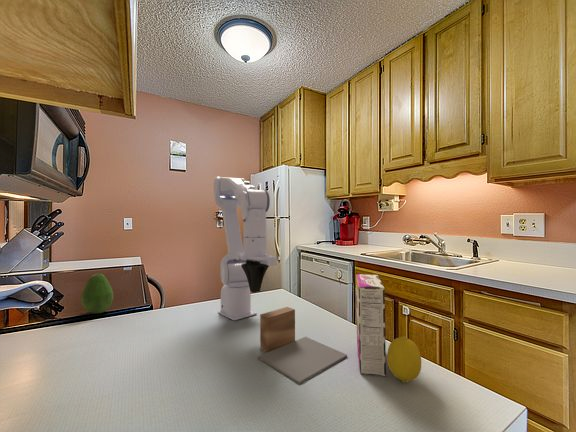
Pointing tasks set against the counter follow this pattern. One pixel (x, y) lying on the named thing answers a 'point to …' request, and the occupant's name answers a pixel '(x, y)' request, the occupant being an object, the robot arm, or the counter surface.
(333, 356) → the mat
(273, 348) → the wooden block
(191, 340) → the counter surface
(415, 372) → the lemon
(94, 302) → the avocado
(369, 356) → the candy bar box
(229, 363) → the counter surface
